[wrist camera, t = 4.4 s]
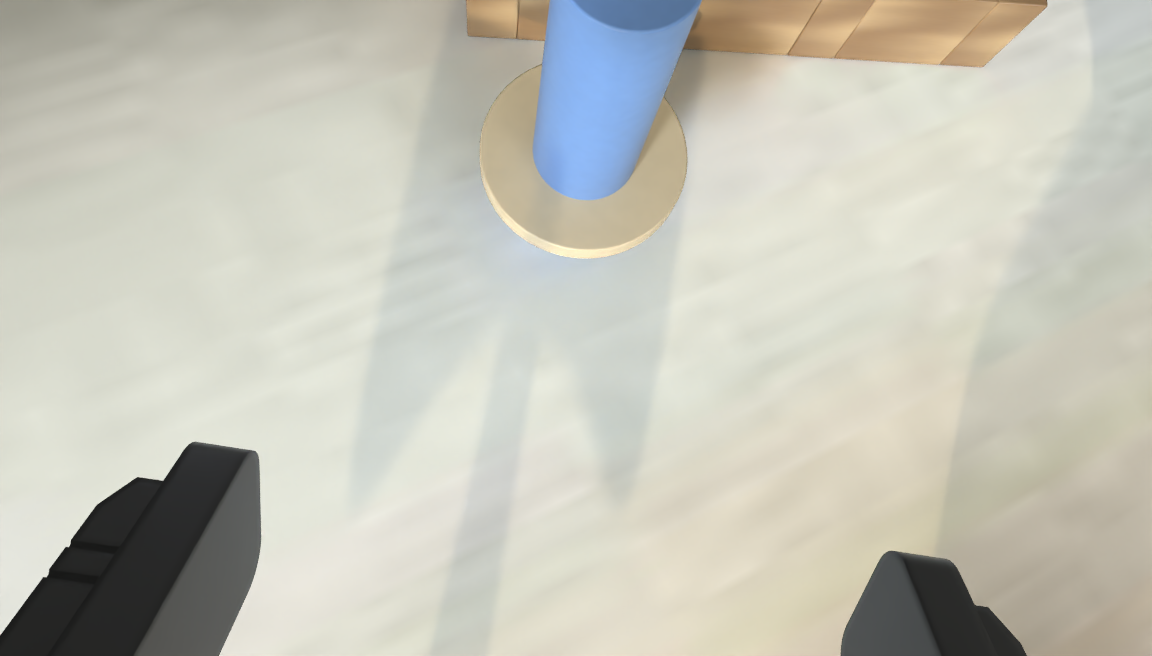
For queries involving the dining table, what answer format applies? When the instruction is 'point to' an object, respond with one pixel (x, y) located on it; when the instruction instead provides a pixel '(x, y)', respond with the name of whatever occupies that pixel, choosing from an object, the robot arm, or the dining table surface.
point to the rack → (815, 27)
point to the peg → (591, 129)
